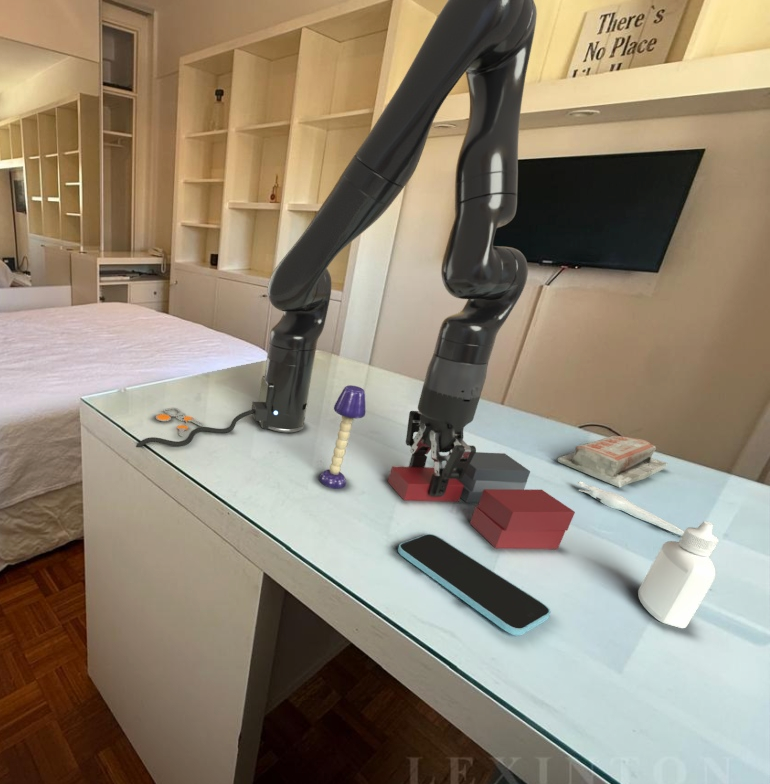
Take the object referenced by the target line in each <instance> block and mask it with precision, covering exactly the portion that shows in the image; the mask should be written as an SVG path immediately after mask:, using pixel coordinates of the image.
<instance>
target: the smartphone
mask: <svg viewBox="0 0 770 784" xmlns="http://www.w3.org/2000/svg"><path fill="white" fill-rule="evenodd" d="M397 548H398V549H397V552H398V554H399V555H400V556H401V557H402V558H404V559H405V560H407V561H408V562H410V563H411V564H412V565H414V566H415V567H416V568H418V569H419V570H421V571H422V572H424V574H426V575H428V576H429V577H430V578H432V579H433V580H434V581H436V582H437V583H439V584H440V585H441V586H443V587H444V588H445V589H447V590H448V591H449V592H450V593H452V594H454V595H455V596H456V597H458V598H459V599H460V600H462V601H463V602H465V603H466V604H467V605H468V606H470V607H472V608H473V609H474V610H476V611H477V612H478V613H480V614H481V615H483V616H484V617H485V618H487V620H489V621H491V622H492V623H494V624H495V625H496V626H497V627H499V628H500V629H502V630H503V631H505V632H507V634H508V633H509V634H511V635H513V636H522V635H524V634H525V633H527V632H529V631H531V630H532V629H534V628H536V627H537V626H539V625H541V624H543V623H544V622H546V621H547V620H549V617H550V616H551V613H552V610H551V609H550V608H549V607H548V605H546V604H545V603H544V602H542V601H540V600H539V599H537V598H536V597H534V596H532V595H531V594H530V593H528V592H526V591H525V590H523V589H521V588H520V587H518V586H517V585H515V584H513V583H512V582H511V581H509V580H508V579H505V578H504V577H503V576H501V575H499V574H498V573H496V572H495V571H493V570H492V569H490V568H488V567H487V566H486V565H484V564H482V563H481V562H479V561H477V560H476V559H474V558H473V557H471V556H469V555H468V554H466V553H465V552H463V551H462V550H460V549H459V548H457V547H455V546H453V545H452V544H451V543H449V542H448V541H446V540H444V539H443V538H442V537H440V536H437V535H436V534H434V533H433V534H432V533H426V534H423V535H420V536H417V537H415V538H412V539H409V540H406V541H403V542H400V543H399V545H398V547H397Z"/></svg>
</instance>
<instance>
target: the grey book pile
mask: <svg viewBox="0 0 770 784" xmlns="http://www.w3.org/2000/svg"><path fill="white" fill-rule="evenodd" d="M456 469H457V468H454V470H456ZM530 475H531V470H529V469H528V468H526V467H525V466H524V465H522V464H521V463H519V462H518V461H517V460H515V459H514V458H512V457H511V456H509V455H508V454H507V453H503V452H502V453H501V452H482V451H476V453H475V455H474V456H473V458H472V460H471V462H470V464H469V466H468V468H467V470H466V472H465V474H464V476H463V478H462V479H457V480H458V481H459V482H461V483H462V484H463V485H464V486H463V490H462V493H461V496H460V499H461V500H463V501H464V502H465V503H466V504H468V503H469V504H479V502H480V499H481V496H482V493H483V490H484V489H523V490H525V489H526V485H527V482H528V479H529V476H530Z"/></svg>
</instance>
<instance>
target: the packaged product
mask: <svg viewBox="0 0 770 784" xmlns="http://www.w3.org/2000/svg"><path fill="white" fill-rule="evenodd" d="M656 450H657V447H656V445H653V444H652V443H650V442H649V441H647V440H645V439H642V438H634V437H628V436H622V435H611V436H608V437H604V438H601V439H598V440H594V441H591V442H588V443H585V444H581V445H576V447H575V450H574V452H571V453H568V454H566V455H561V456H559V457H558V458H557V462H558V463H560V464H562V465H564V466H567V467H570V468H571V469H574V470H577V471H579V472H581V473H583V474H586V475H589V476H591V477H593V478H595V479H598V480H600V481H603V482H605V483H607V484H610V485H613V486H615V487H617V488H622V487H624V486H627V485H630V484H633V483H635V482H638V481H642V480H645V479H647V478H648V477H651V476H652V475H655V474H657V473H659V472H661V471H663V470H664V469H665V467H666V466H667V465H668V462H666V461H663V460H660V459H656V458H653V457H652V456H653V455H654V452H655V451H656Z"/></svg>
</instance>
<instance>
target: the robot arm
mask: <svg viewBox="0 0 770 784" xmlns="http://www.w3.org/2000/svg"><path fill="white" fill-rule="evenodd" d="M537 16H538V13H537V6H536V3H535V0H447V2H446V3H445V4H444V6H443V8H442V9H441V11H440V12H439V14H438V16H437V17H436V20H435V21H434V23H433V25H432V26H431V28H430V29H429V32H428V34H427V35H426V37H425V39H424V41H423V43H422V45H421V46H420V48H419V51H417V53H416V56H415V57H414V59H413V61H412V63H411V64H410V66H409V68H408V70H407V72H406V74H405V75H404V77H403V79H402V81H401V82H400V84H399V86H398V87H397V89H396V90H395V92H394V94H393V95H392V96H391V98H390V100H389V102H388V103H387V104H386V106H385V108H384V109H383V111H382V113H381V114H380V116H379V117H378V119H377V120H376V122H375V124H374V125H373V127H372V129H371V130H370V131H369V133H368V135H367V136H366V137H365V139H364V141H362V144H361V145H360V146H359V147H358V148H357V151H356V152H355V153H354V154H353V157H352V158H351V159H350V160H349V163H348V164H347V165H346V167H345V168H344V170H343V171H342V173H341V175H340V176H339V178H338V180H337V182H336V183H335V185H334V186H333V188H332V189H331V191H330V192H329V193H328V195H327V197H326V198H325V200H324V201H323V202H322V204H321V206H320V208H319V209H318V210H317V212H316V214H315V215H314V217H313V218H312V219H311V222H310V223H309V224H308V226H307V228H305V230H304V232H302V234H301V236H300V237H299V238H298V239H297V240H296V242H295V243H294V244H293V246H292V247H291V248H290V249H289V250H288V252H287V253H286V254H285V255H284V256H283V258H282V259H281V261H279V263H278V264H277V266H276V267H275V268H274V270H273V271H272V273H271V275H270V278H269V280H268V283H267V284H268V285H267V296H268V300H269V302H270V304H271V305H272V307H274V308H275V309H276V310H277V311H280V312H281V311H282V312H283V314H282V316H281V318H280V319H279V321H278V322H277V323H276V324H275V325H273V326H272V328H271V329H270V332H269V339H268V348H267V355H266V361H265V363H266V364H265V371H264V375H262V376H261V379H260V387H259V394H258V395H259V396H258V401H252V403H251V409H250V410H247V411H244V412H241V413H239V414H238V415H236V416H235V417H234V418H233V419H232V421H231V423H230V425H229V426H228V427H226V428H216V427H210V426H199V427H196V428H194V429H192V430H191V431H190V432H189V435H188V437H186V439H184V440H179V441H177V440H176V441H175V440H170V439H166V438H161V437H155V436H154V437H153V436H151V437H146V438H143V439H142V440H140V441H139V442H138V443H137V444H136V445H135V447H136V448H142V447H144V446H145V445H147V444H151V443H157V444H161V445H166V446H170V447H183V446H186V445H189V444H190V443H191V442H192V441H193V439H194V437H195V436H196V435H197V434H198V433H201V432H206V433H207V432H208V433H215V434H227V433H230V432H232V431H234V428H235V427H236V424H237V422H238V421H240V420H241V419H243V418H246V417H249V416H251V415H252V417H253V419H254V421H255V422H258V423H259V425H260V427H261V429H264V430H270V431H274V432H278V433H288V434H289V433H291V434H292V433H297V432H300V431H302V430H303V429H304V426H305V419H306V412H307V408H308V406H309V402H308V401H309V394H310V387H311V381H312V375H313V369H314V364H315V358H316V351H317V345H318V342H319V339H320V337H321V335H322V333H323V331H324V329H325V324H326V321H327V320H326V319H327V315H328V311H329V306H330V301H331V295H332V287H333V285H332V283H333V281H332V275H331V274H330V271H329V269H328V267H329V266H330V264H331V263H332V261H334V259H335V258H336V257H337V256H338V255H339V253H341V252H342V251H343V249H345V248H346V247H347V246H349V244H351V243H352V242H353V241H354V240H355V239H356V238H358V237H359V236H361V234H363V233H365V231H366V230H368V229H369V228H370V227H371V226H372V225H373V224H375V223H376V222H377V221H378V220H379V219H380V218H381V217H382V216H383V215H384V214H385V213H386V211H387V210H388V209H389V207H390V206H391V205H392V204H393V202H394V201H395V200H396V199H397V197H398V196H399V195H400V193H401V192H402V191H403V189H404V188H405V187H406V185H408V182H409V181H410V180H411V178H412V177H413V175H414V173H415V171H416V169H417V167H418V165H419V162H420V160H421V156H422V155H423V151H424V149H425V145H426V142H427V140H428V137H429V134H430V131H431V128H432V125H433V122H434V120H435V119H436V116H437V114H438V112H439V110H440V109H441V107H442V105H443V103H444V102H445V100H447V97H448V96H449V94H450V93H451V92H452V90H453V89H454V88H455V86H456V85H457V83H458V82H459V81H460V80H461V78H462V77H463V76H464V74H465V76H466V82H467V87H468V95H469V112H468V113H469V115H468V121H467V127H466V130H465V134H464V136H463V140H462V142H461V143H462V144H461V146H460V149H459V153H458V156H457V161H456V165H455V174H454V219H453V223H452V225H451V229H450V231H449V235H448V239H447V243H446V246H445V250H444V254H443V257H442V261H441V268H440V274H441V275H440V276H441V281H442V284H443V287H444V288H445V290H446V291H447V293H448V294H449V295H450V296H452V297H454V298H456V299H460V300H466V303H465V304H464V306H463V308H462V309H461V310H460V311H458V312H456V313H453V314H451V315H449V316H447V317H444V319H443V321H442V322H441V325H440V327H439V331H438V333H437V334H438V335H437V338H436V342H435V346H434V350H433V353H432V355H431V356H432V357H431V359H430V360H429V363H428V365H427V369H426V373H425V377H424V381H423V384H422V388H421V392H420V396H419V401H418V404H417V410H410V411H409V412H408V413H409V414H408V422H407V430H406V436H405V444H406V446H407V447H410V450H409V451H410V454H411V458H410V461H409V464H408V467H426V463H427V459H428V456H427V455H428V454H429V453H430V459H431V460H433V468H434V474H432V478H431V481H430V486H429V489H428V494H429V495H430V496H431V497H442V496H443V495H444V494H445V491H446V488H447V485H448V482H449V479H462V478H463V476H464V474H465V472H466V470H467V468H468V466H469V464H470V462H471V460H472V458H473V456H474V455H475V453H476V452H477V448H476V446H475V445H471V444H467V442H466V441H465V440H464V428H465V427H466V426H467V425H468V424H470V423H472V422H473V420H474V418H475V415H476V412H477V408H478V405H479V402H480V399H481V395H482V392H483V390H484V386H485V383H486V379H487V375H488V374H487V373H488V368H489V367H488V366H489V362H490V359H491V355H492V352H493V349H494V345H495V342H496V339H497V335H498V333H499V331H500V329H502V327H503V325H504V324H505V323H506V321H507V319H508V317H509V316H510V315H511V312H512V311H513V309H514V307H515V306H516V305H517V302H518V301H519V299H520V297H521V296H522V293H523V291H524V289H525V287H526V284H527V281H528V276H529V267H528V261H527V258H526V256H525V255H524V254H523V253H522V252H521V251H520V250H519V249H517V248H514V247H511V246H499V245H494V240H495V235H496V231H497V229H498V228H501V227H503V226H506V225H507V224H509V223H510V222H511V221H513V219H515V216H516V214H517V208H518V185H519V184H518V183H519V139H520V138H519V136H520V135H519V134H520V121H521V111H522V104H523V97H524V89H525V82H526V76H527V71H528V66H529V61H530V56H531V52H532V47H533V42H534V37H535V31H536V25H537ZM415 433H416V434H415ZM414 434H415V436H414ZM440 453H448V454H444V455H443V454H440ZM443 462H445V465H444V467H443ZM454 468H457V469H456V470H454Z"/></svg>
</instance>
